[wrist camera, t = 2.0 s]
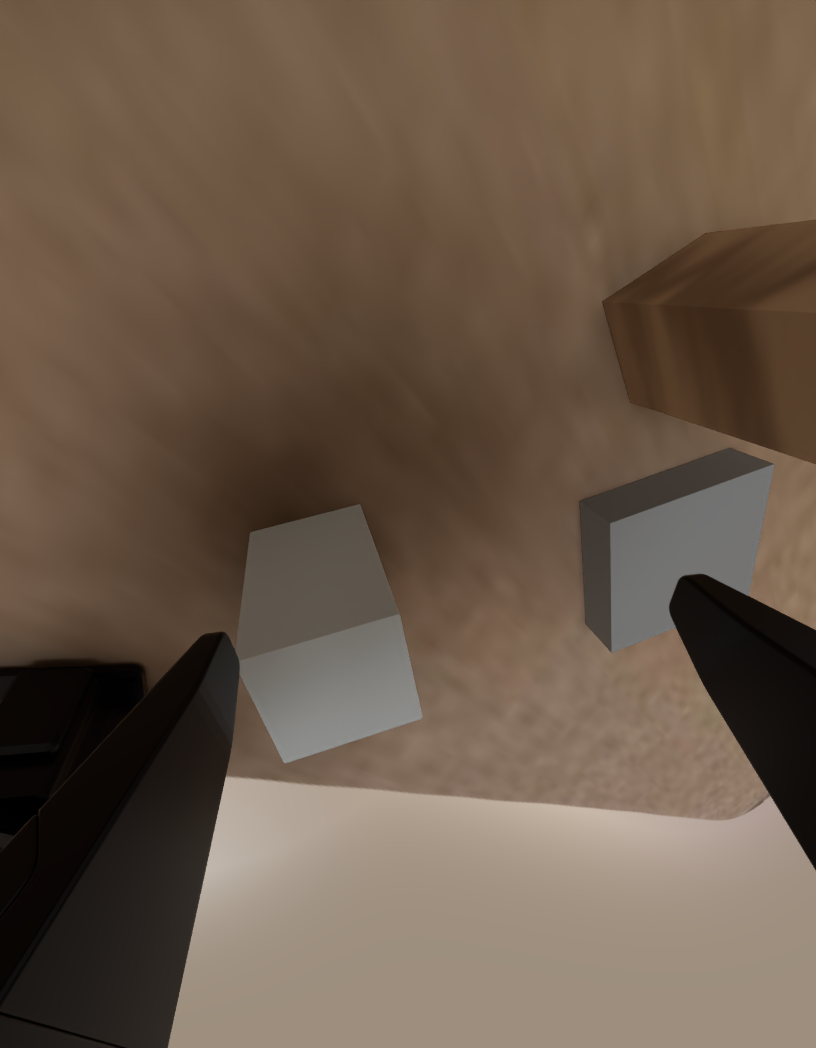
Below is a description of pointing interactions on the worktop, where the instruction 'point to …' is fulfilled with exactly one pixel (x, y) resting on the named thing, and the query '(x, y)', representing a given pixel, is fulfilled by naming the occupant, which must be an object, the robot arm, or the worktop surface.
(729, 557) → the greyblue square slab
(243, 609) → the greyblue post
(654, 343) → the walnut post
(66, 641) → the worktop surface
